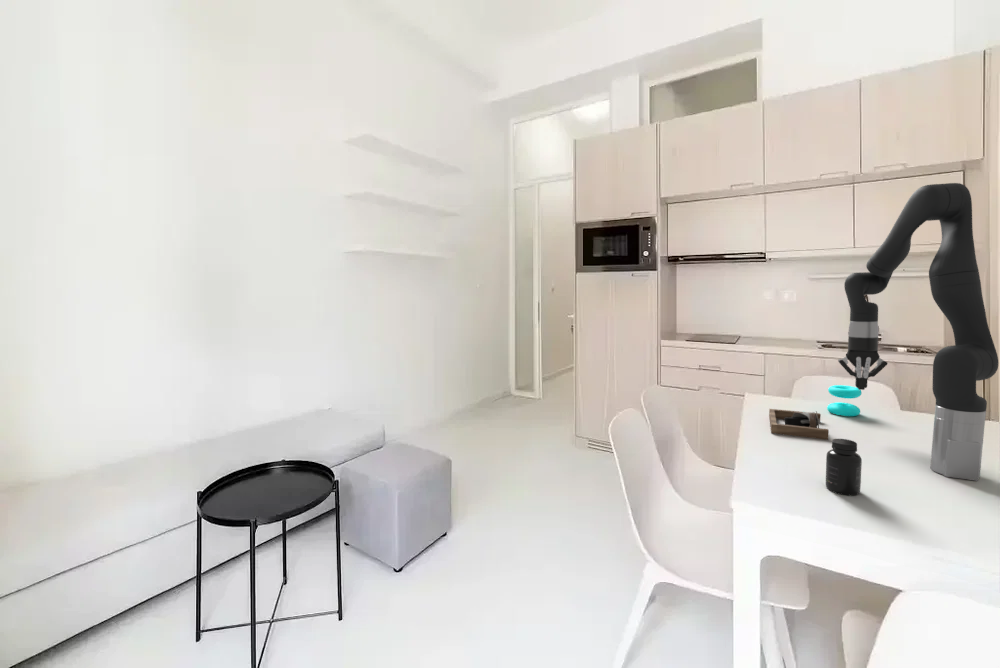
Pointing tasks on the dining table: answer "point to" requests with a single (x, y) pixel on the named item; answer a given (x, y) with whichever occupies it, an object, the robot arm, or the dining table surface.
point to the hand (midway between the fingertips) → (861, 389)
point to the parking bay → (792, 429)
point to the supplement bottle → (843, 467)
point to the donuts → (844, 408)
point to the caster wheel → (803, 419)
